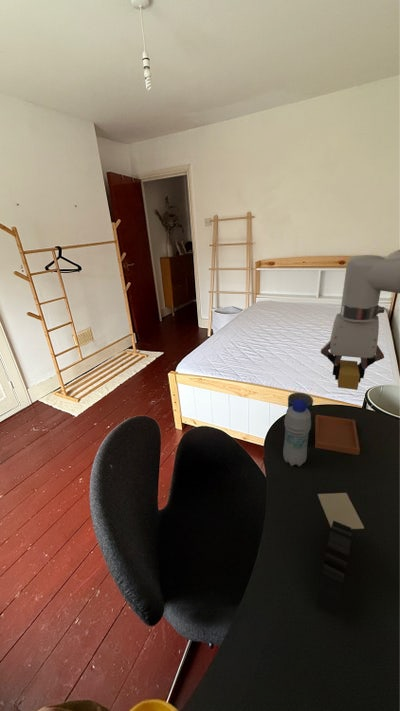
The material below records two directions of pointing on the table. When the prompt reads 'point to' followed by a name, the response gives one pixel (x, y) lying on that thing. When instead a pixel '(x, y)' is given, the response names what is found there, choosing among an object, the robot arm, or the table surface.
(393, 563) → the table surface
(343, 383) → the yellow block
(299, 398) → the cup
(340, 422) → the brown wooden tray
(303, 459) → the bottle
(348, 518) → the cloth
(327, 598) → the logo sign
